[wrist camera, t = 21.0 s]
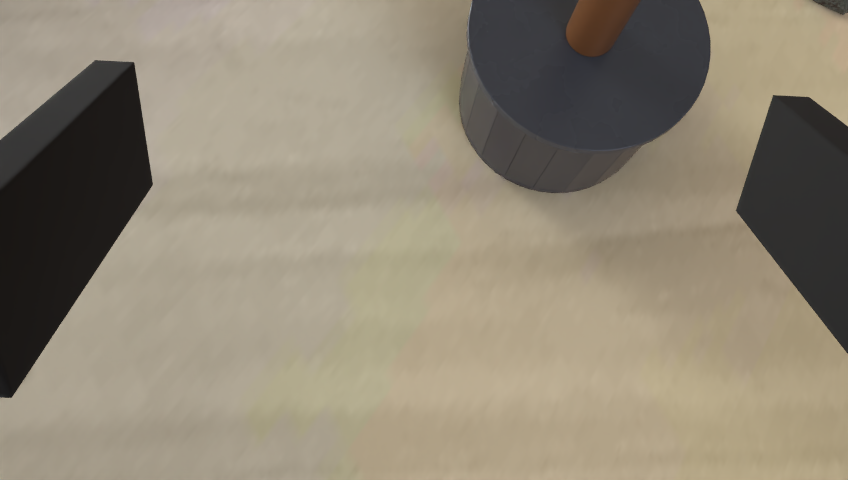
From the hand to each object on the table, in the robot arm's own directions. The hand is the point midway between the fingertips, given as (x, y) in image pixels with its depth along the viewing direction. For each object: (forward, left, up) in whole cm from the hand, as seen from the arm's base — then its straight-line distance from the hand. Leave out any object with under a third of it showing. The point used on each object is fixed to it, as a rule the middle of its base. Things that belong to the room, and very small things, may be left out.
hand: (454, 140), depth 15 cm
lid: (+3, +18, -23) cm, 29 cm away
